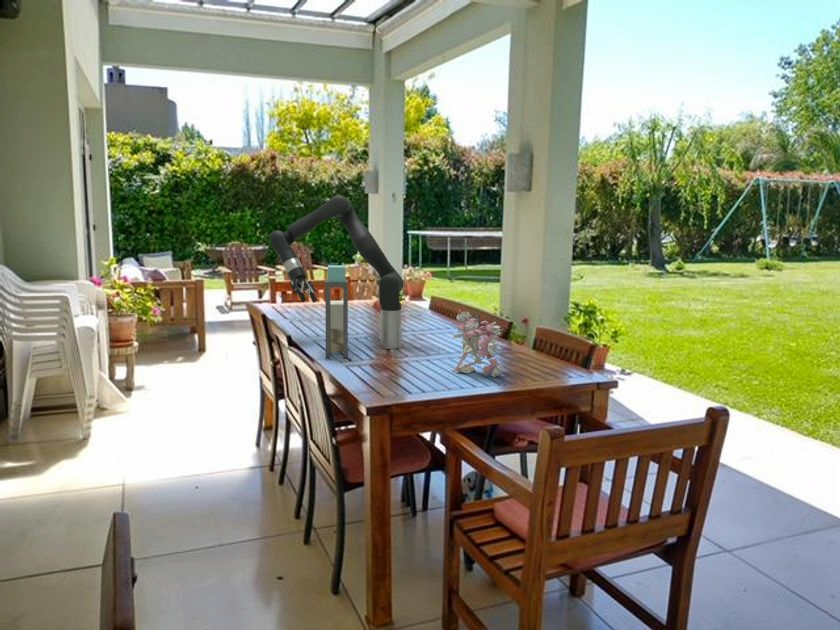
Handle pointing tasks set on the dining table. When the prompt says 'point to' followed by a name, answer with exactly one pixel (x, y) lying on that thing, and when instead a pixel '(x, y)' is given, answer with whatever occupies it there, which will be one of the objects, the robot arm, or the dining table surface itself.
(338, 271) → the handle block
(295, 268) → the robot arm
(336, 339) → the tower base block
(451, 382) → the dining table surface
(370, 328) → the dining table surface
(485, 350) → the flower
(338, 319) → the tower top block
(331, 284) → the stand
